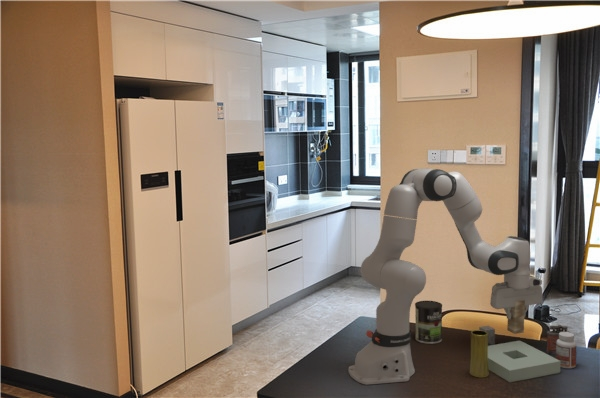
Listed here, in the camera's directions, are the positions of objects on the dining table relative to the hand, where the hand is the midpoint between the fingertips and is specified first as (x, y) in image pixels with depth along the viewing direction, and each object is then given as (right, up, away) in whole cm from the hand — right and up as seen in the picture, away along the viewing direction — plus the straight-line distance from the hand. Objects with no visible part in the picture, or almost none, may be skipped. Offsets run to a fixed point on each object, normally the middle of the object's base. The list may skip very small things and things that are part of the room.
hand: (516, 317), depth 206 cm
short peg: (-8, -11, +8) cm, 16 cm away
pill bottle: (+12, -14, -14) cm, 23 cm away
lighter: (+14, -12, -2) cm, 19 cm away
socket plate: (-5, -14, -13) cm, 19 cm away
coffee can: (-29, -12, +14) cm, 34 cm away
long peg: (0, -5, +1) cm, 5 cm away
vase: (-19, -15, -18) cm, 30 cm away
